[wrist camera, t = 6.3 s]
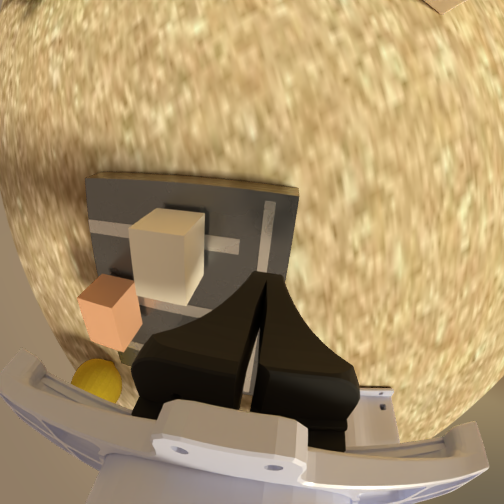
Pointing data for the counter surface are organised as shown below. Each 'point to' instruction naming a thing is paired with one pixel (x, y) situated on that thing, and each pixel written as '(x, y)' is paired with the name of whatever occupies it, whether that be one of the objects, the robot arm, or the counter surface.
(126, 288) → the block
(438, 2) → the milk
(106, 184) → the panel
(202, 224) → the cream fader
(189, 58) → the counter surface
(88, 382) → the lemon
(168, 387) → the robot arm
